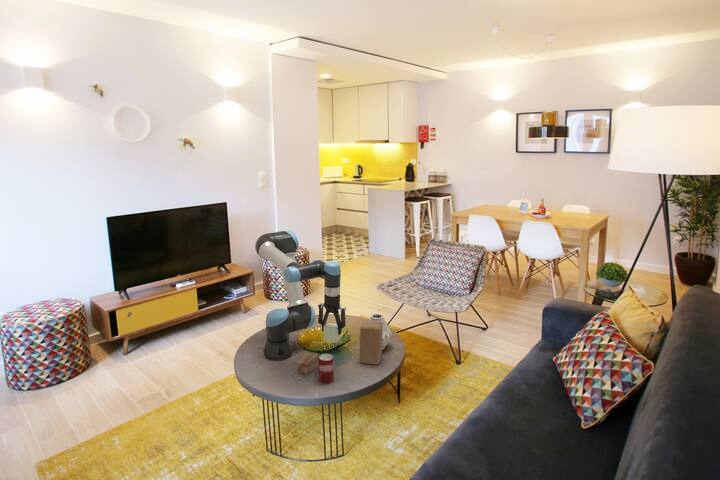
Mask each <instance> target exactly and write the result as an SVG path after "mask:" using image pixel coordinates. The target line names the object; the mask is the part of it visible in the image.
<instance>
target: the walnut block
mask: <svg viewBox="0 0 720 480" xmlns="http://www.w3.org/2000/svg"><path fill="white" fill-rule="evenodd" d="M318 358H319V353H316V352H310V351H308V353H306V355H304V356H303V357H302V358H301V359H299V361H297V366H296V367H297V374H299V375H303V376H306V377H307V376H308V375H309V374H310V373H311V372H312V371H314V369H315V368H316V367H318Z"/></svg>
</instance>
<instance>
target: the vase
mask: <svg viewBox="0 0 720 480" xmlns="http://www.w3.org/2000/svg"><path fill="white" fill-rule="evenodd" d="M368 320H371V321H381V322H382V351H384V349H385V348H386V346H387V345H388V343H389V342H390V339H391V337H392V336H393V333H392V330H391V328H390V327H389V326H388V323H387V321H386V320H385V318H384V315H382V314H380V313H375V314H371V316H370V317H369V319H368Z"/></svg>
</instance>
